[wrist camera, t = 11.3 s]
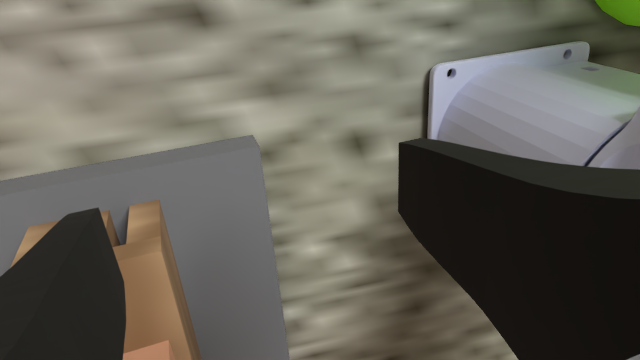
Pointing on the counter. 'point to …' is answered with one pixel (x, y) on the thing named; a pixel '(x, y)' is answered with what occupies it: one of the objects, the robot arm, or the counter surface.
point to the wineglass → (622, 10)
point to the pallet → (144, 281)
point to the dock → (180, 233)
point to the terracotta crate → (152, 352)
